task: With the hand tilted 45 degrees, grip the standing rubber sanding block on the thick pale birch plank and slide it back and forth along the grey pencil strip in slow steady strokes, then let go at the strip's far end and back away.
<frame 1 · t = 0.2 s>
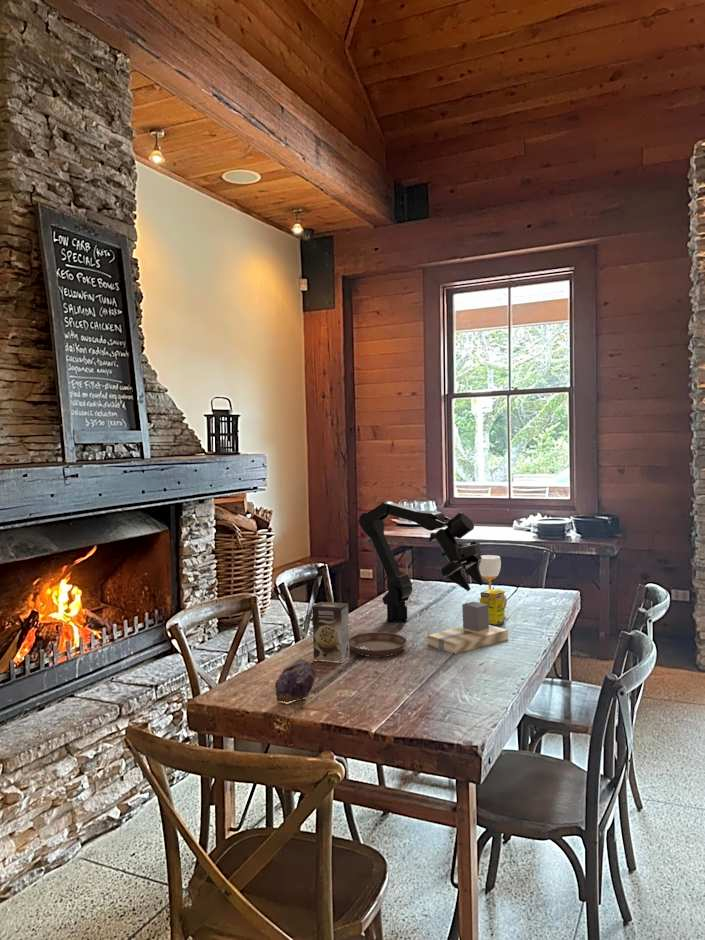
hand: (475, 587, 232), 14 cm above the table, tool tilted 35°, fingers open, 9 cm apart
plant saucer: (377, 650, 217), on the table
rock: (298, 699, 179), on the table
cup: (490, 599, 277), on the table
birch board: (468, 642, 221), on the table
cookie box: (331, 660, 209), on the table
sanding block: (475, 630, 223), point 3 cm above the table, touching birch board
decorative fruit: (494, 616, 251), on the table
supplement box: (493, 624, 241), on the table
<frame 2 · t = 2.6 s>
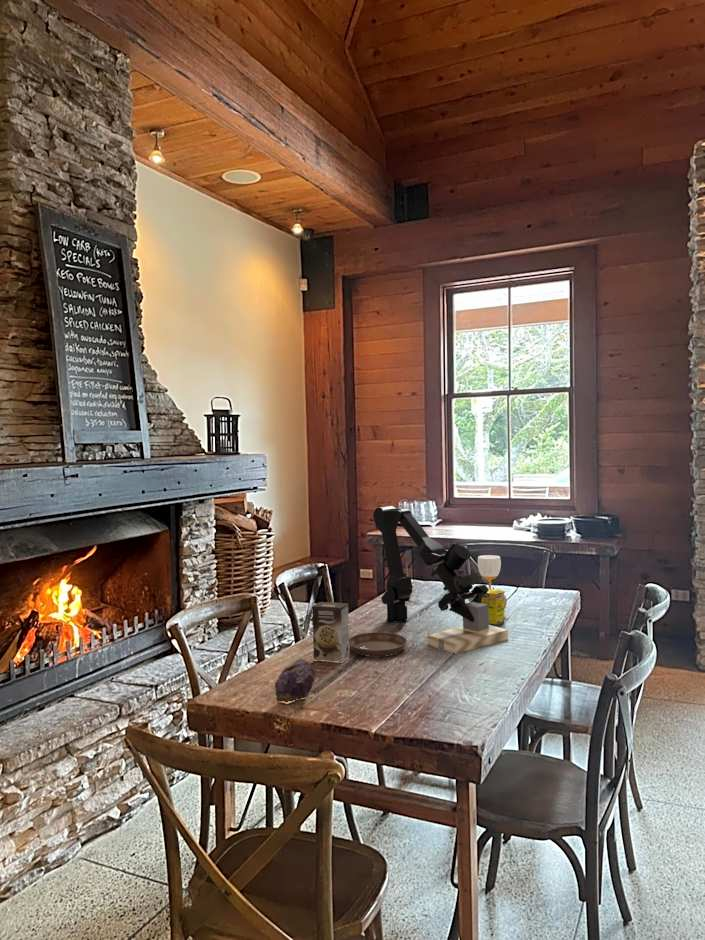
hand: (479, 619, 222), 7 cm above the table, tool tilted 45°, fingers closed on sanding block, 5 cm apart
sanding block: (475, 630, 223), point 3 cm above the table, touching birch board, gripper
everything else where it was.
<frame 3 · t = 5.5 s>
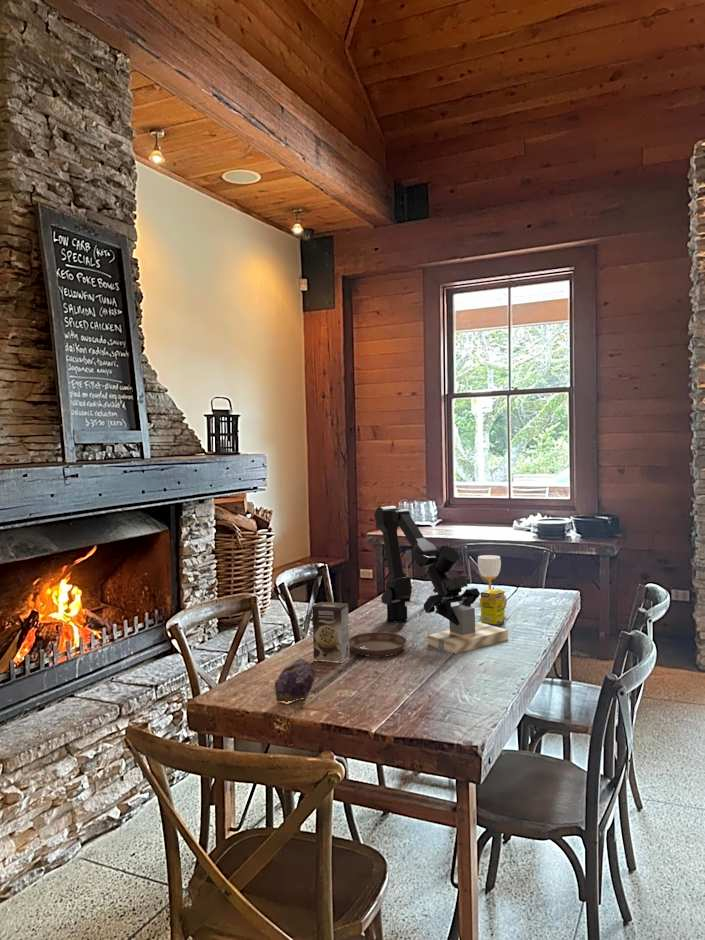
hand: (465, 623, 218), 6 cm above the table, tool tilted 45°, fingers closed on sanding block, 5 cm apart
sanding block: (462, 633, 220), point 3 cm above the table, touching gripper
everything else where it was.
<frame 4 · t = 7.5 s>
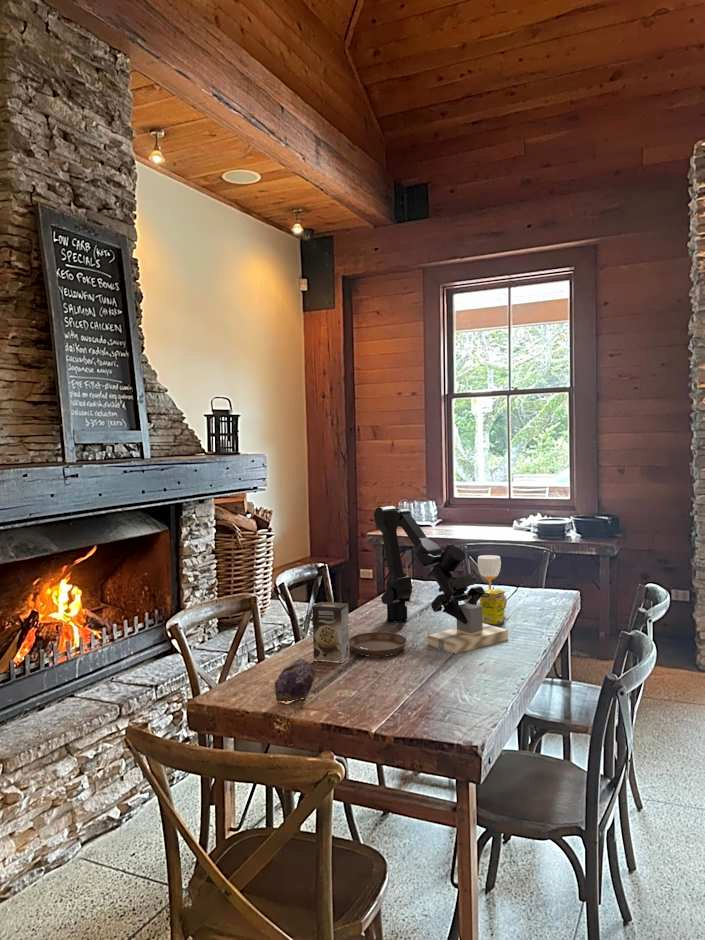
hand: (472, 621, 220), 6 cm above the table, tool tilted 45°, fingers closed on sanding block, 5 cm apart
sanding block: (469, 631, 221), point 3 cm above the table, touching gripper
everything else where it was.
when the fingers open (6 cm above the table, at t = 8.8 s): sanding block stays where it is, resting on birch board.
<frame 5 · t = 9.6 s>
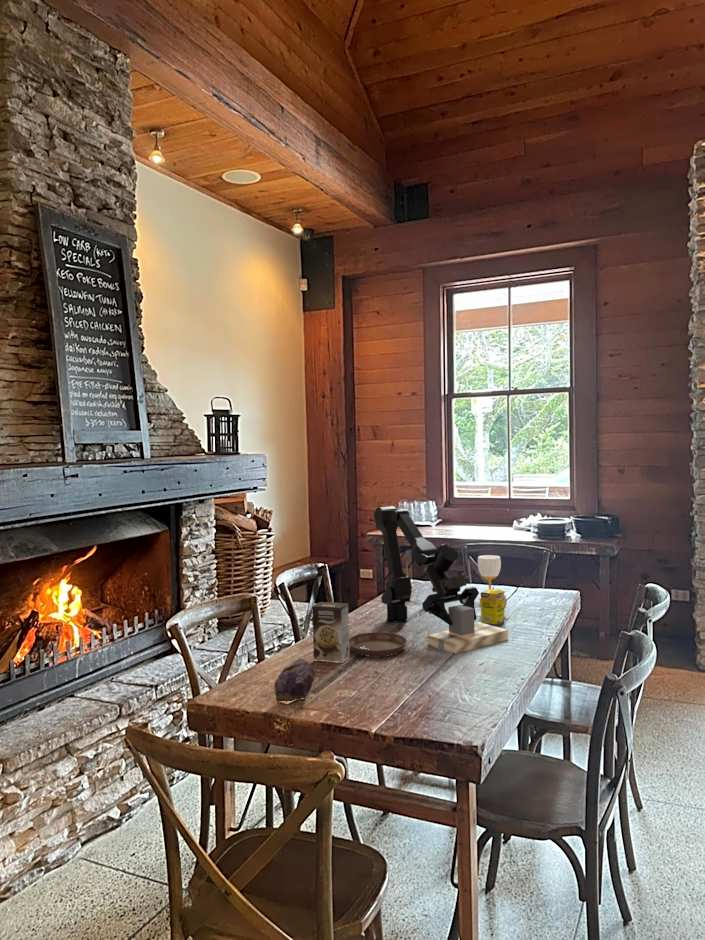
hand: (463, 622, 218), 7 cm above the table, tool tilted 45°, fingers open, 9 cm apart
sanding block: (461, 633, 219), point 3 cm above the table, touching birch board
everything else where it was.
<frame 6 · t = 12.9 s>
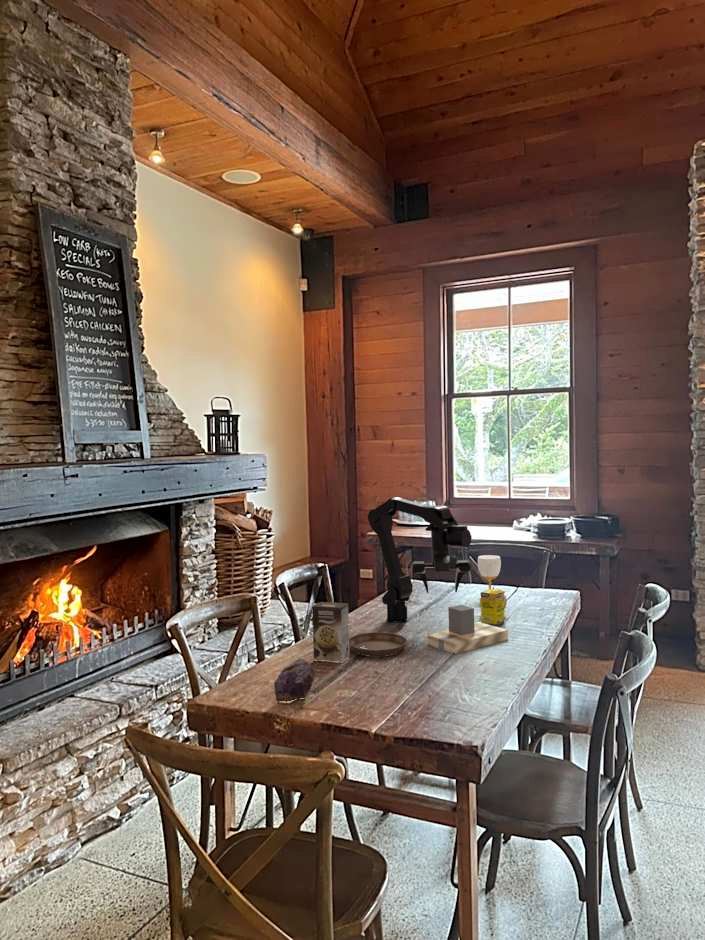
hand: (441, 592, 236), 12 cm above the table, tool pointing down, fingers open, 9 cm apart
nothing on the table moved.
at the end: sanding block inside the target area (2.2 cm from its centre), point 3.0 cm above the table; sanding block tilted 0°; the gripper is holding nothing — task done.
